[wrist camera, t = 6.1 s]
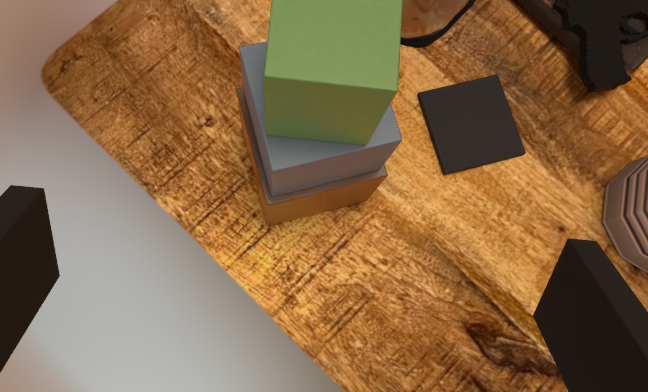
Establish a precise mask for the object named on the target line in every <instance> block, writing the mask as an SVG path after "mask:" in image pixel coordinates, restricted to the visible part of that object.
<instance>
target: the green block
mask: <svg viewBox="0 0 648 392" xmlns="http://www.w3.org/2000/svg"><path fill="white" fill-rule="evenodd" d="M401 19H402V0H272V4H271V13H270V22H269V32H268V41H267V50H266V59H265V68H264V101H265V134H266V135H271V136H281V137H290V138H300V139H309V140H319V141H329V142H338V143H348V144H358V145H367V144H368V142H369V141H370V139H371V137H372V135H373V133H374V132H375V130H376V128H377V126H378V125H379V123H380V121H381V119H382V118H383V116H384V114H385V112H386V111H387V109H388V107H389V105H390V104H391V102H392V100H393V98H394V97H395V95H396V93H397V91H398V81H399V60H400V40H401Z"/></svg>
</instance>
